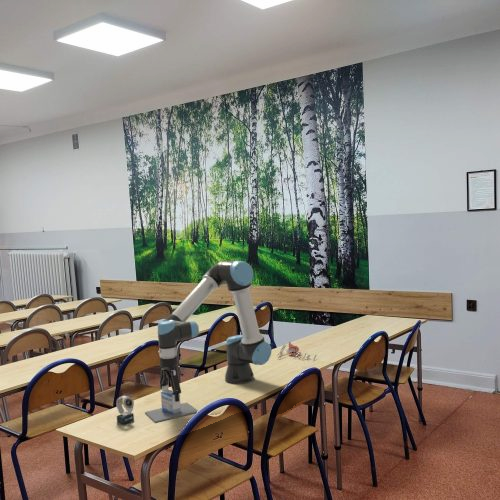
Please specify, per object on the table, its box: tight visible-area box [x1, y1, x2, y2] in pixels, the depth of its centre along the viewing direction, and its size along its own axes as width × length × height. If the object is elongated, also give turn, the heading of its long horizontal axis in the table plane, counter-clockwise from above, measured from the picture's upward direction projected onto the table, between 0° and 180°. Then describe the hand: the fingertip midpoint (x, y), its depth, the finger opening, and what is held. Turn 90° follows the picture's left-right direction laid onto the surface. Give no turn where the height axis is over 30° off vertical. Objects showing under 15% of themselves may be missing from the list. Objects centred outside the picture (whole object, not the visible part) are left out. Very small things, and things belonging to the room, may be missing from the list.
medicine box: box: [160, 389, 181, 414], centre depth 233 cm, size 8×4×9 cm, turn 50°
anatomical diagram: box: [277, 341, 318, 360], centre depth 317 cm, size 21×9×25 cm
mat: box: [144, 402, 199, 423], centre depth 232 cm, size 20×14×1 cm
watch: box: [116, 395, 135, 426], centre depth 224 cm, size 6×8×11 cm
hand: (171, 404), depth 232 cm, fingers open, 13 cm apart
